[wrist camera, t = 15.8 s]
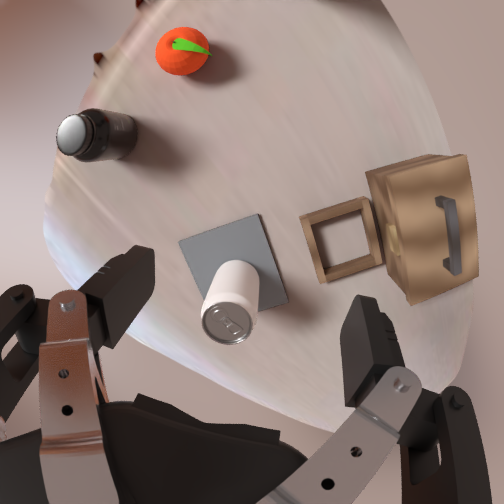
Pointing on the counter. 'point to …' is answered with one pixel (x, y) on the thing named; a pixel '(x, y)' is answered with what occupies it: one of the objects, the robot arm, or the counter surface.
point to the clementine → (182, 51)
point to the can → (231, 303)
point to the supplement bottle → (97, 135)
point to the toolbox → (413, 226)
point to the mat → (235, 257)
